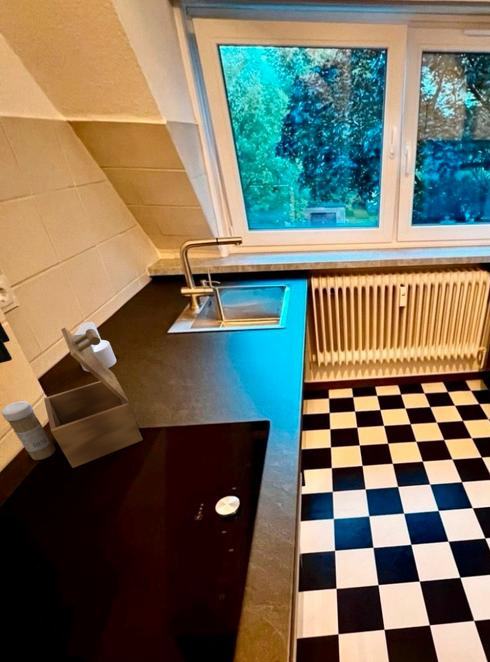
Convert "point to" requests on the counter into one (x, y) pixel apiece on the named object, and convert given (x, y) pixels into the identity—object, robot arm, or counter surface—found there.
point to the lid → (93, 360)
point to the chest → (90, 422)
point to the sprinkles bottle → (28, 429)
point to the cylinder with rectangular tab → (97, 346)
